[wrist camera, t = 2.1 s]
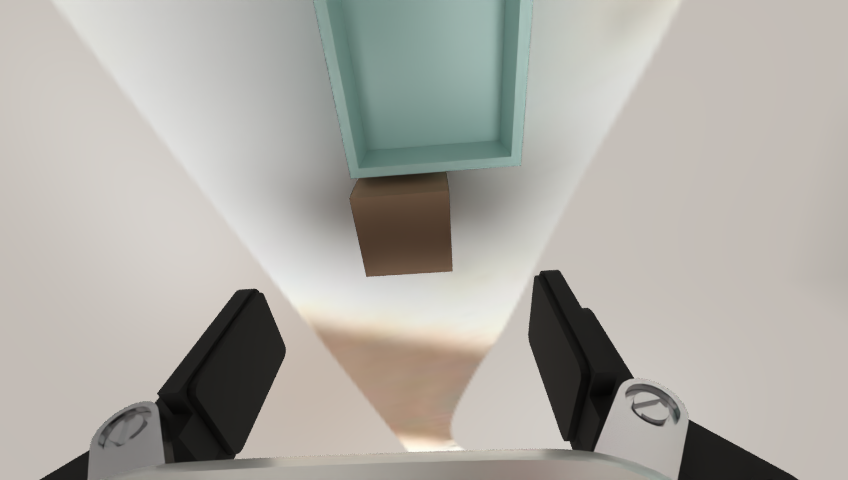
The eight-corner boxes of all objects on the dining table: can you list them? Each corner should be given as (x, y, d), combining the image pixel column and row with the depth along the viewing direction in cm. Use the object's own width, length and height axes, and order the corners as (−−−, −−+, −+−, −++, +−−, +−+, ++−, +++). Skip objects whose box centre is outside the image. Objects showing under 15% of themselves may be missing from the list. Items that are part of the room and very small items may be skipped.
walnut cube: (364, 164, 17) (349, 198, 13) (443, 158, 17) (448, 191, 13) (377, 232, 19) (366, 276, 16) (447, 227, 19) (452, 271, 15)
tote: (304, -160, 11) (267, -218, 8) (521, -188, 11) (551, -258, 8) (362, 155, 16) (350, 178, 14) (505, 144, 16) (520, 165, 14)
